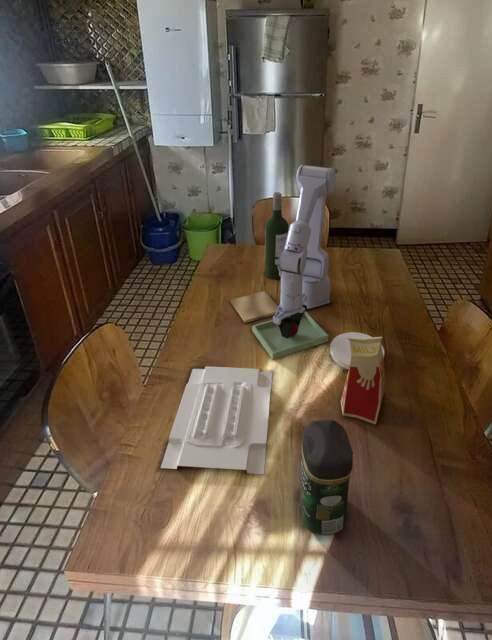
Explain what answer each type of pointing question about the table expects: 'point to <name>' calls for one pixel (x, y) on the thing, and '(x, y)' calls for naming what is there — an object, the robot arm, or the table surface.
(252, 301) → the board
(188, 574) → the table surface
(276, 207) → the wine bottle
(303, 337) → the tray
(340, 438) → the coffee jar
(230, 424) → the tray
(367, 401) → the milk carton
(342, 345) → the plastic lid
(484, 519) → the table surface
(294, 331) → the plum
